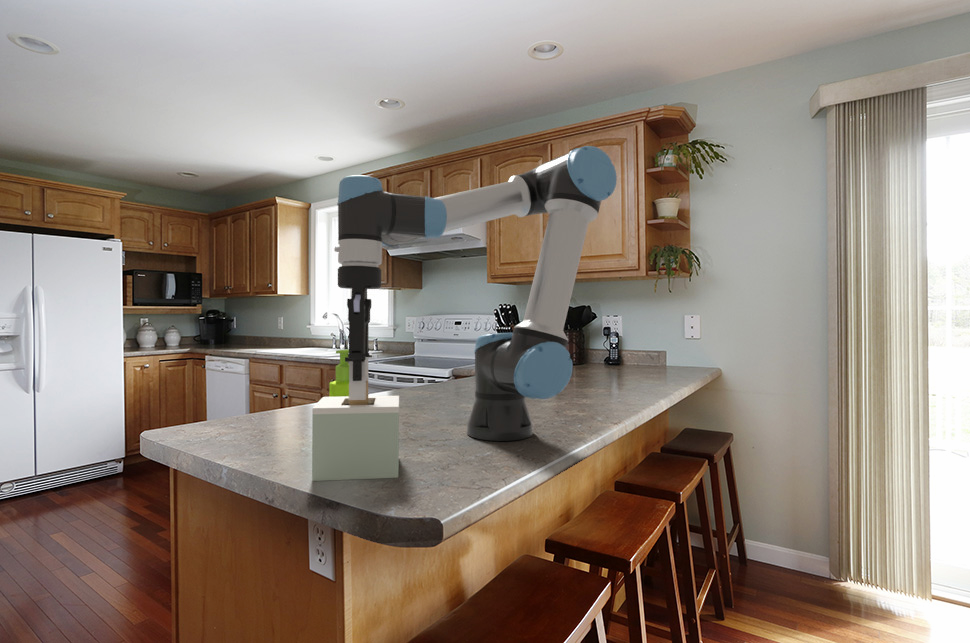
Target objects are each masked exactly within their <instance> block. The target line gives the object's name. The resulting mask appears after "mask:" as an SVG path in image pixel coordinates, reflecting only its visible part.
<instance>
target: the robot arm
mask: <svg viewBox="0 0 970 643" xmlns="http://www.w3.org/2000/svg"><path fill="white" fill-rule="evenodd" d="M617 180H618V179H617V170H616V167H615V165H614V164H613V162H612V159H611V158H610V156H609V155H608V153H607V152H605V151H604V150H603V149H601V148H599V147H597V146H594V145H585V146H581V147H577V148H573V149H571V150H570V151H569V152H568V153H566V154H564V155H563V154H562V155H561V156H558V157H555V158H553V159H551V160H548V161H546V162H544V163H542V164H541V165H539V166H537V167H535V168H533V169H531V170H528V171H526V172H523V173H520V174H516V175H512V176H510V177H509V179H508V181H505V182H501V183H496V184H491V185H488V186H487V185H486V186H483V187H478V188H474V189H469V190H464V191H459V192H456V193H455V192H454V193H452V194H446V195H443V196H438V197H429V196H427V195H424V196H421V195H411V194H410V195H409V194H404V193H403V194H401V193H392V192H388V191H384V188H383V183H382V181H381V180H380V179H379V178H377V177H372V176H370V175H363V174H361V175H360V174H359V175H358V174H356V175H355V174H354V175H353V174H352V175H347V176H345V177H343V178H342V179H341V180H339V185H338V198H337V225H338V226H337V227H338V228H337V230H338V233H337V234H338V235H337V236H338V237H337V238H338V239H337V241H338V243H337V244H338V246H335V247H334V248H333V249H334V252H336V253H338V254H337V261H338V264H340V265H341V266H339V267H338V268H337V287H338V288H340V289H347V290H349V289H351V295H350V296H351V298H347V299H346V300H347V301H346V306H347V309H348V311H347V313H348V314H347V320H348V349H349V353H348V357H345V362H348V364H349V400H366V381H368V382H369V358H372V356H373V353H372V352H370V348H369V323H370V321H371V309H372V299H371V298H368V290H378V289H381V288H382V269H381V267H379V266H380V265H381V264H382V263H383V247H396V246H398V245H401V244H403V243H407V242H410V241H415V240H418V239H424V240H428V239H439V238H441V237H442V236H443V234H444V233H447V232H449V231H450V232H451V231H454V230H459V229H461V228H465V227H471V226H474V225H477V224H481V223H482V224H483V223H486V222H490V221H493V220H494V221H495V220H498V219H503V218H505V217H506V218H507V217H509V216H513V215H515V216H516V217H517V218H518V217H519V218H524V217H528V216H533V215H541V214H548V219H547V223H546V226H545V231H544V236H543V240H542V244H541V247H540V252H539V256H538V259H537V264H536V268H535V271H534V272H535V273H534V276H533V280H532V284H531V288H530V292H529V297H528V301H527V304H526V309H525V312H524V317H523V320H522V321H520V322H519V323H518V324H516V325H514V327H513V330H512V332H498V333H488V334H487V333H486V334H482V335H480V336H478V337H477V338H476V341H475V348H474V402H473V404H472V408H471V411H470V414H469V418H468V421H467V424H466V434H467V435H468V436H470V437H471V438H475V439H479V440H485V441H492V442H493V441H494V442H508V441H510V442H511V441H519V440H525V439H528V438H530V437H532V436H533V422H532V419H531V415H530V412H529V410H528V406H527V403H526V402H527V401H526V398H529V399H531V400H532V399H533V400H536V399H538V400H547V399H551V398H554V397H555V396H557V395H558V394H560V393H562V391H563V390H564V389H565V388H567V386H568V384H569V383H570V380H571V377H572V375H573V365H574V364H573V360H572V359H571V354H570V352H569V350H568V349H567V346H568V342H569V338H568V337H567V335H566V334H565V331H564V328H565V323H566V319H567V316H568V311H569V307H570V304H571V300H572V299H571V298H572V295H573V290H574V287H575V282H576V277H577V274H578V270H579V265H580V260H581V257H582V254H583V253H582V252H583V249H584V244H585V241H586V236H587V231H588V229H589V228H588V227H589V224H590V223H591V222H593V221H595V220H596V219H597V218H598V215H599V213H600V212H599V211H600V207H601V205H602V204H601V203H602V201H605V200H607V199H609V197H610V196H612V194H613V193H614V192H615V190H616V187H617Z"/></svg>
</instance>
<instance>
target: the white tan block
mask: <svg viewBox="0 0 970 643" xmlns="http://www.w3.org/2000/svg"><path fill="white" fill-rule="evenodd" d="M368 396H369V380H368V381H366V400H349V405H368Z"/></svg>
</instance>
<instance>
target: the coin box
mask: <svg viewBox="0 0 970 643" xmlns="http://www.w3.org/2000/svg"><path fill="white" fill-rule="evenodd" d="M311 411H312V416H311V417H312V420H311V421H312V422H311V423H312V425H311V426H312V427H311V429H312V432H311V433H312V436H311V437H312V438H311V440H312V442H311V452H312V453H311V456H312V457H311V459H312V461H311V482H317V481H319V482H321V481H323V482H324V481H348V480H369V479H375V480H376V479H397V478H399V470H400V469H399V467H400V466H399V462H400V460H399V458H400V451H399V447H400V437H399V436H400V435H399V434H400V395H368V405H349V396H343V397H329V396H323V397H321V398H320V399H319V400H318V401H317V403H316V404H315V405H314V406H313V407H312V410H311Z"/></svg>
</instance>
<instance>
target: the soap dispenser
mask: <svg viewBox="0 0 970 643" xmlns="http://www.w3.org/2000/svg"><path fill="white" fill-rule="evenodd" d="M335 354H339V363H338V365H335V380H334V381H330V382H329V383H328V384H329V387H328V388H329V389H328V390H329V392H328V394H329V395H328V397H343V396H349V362H345V357H348V354H349V348H347V349H338V350H335Z"/></svg>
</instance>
